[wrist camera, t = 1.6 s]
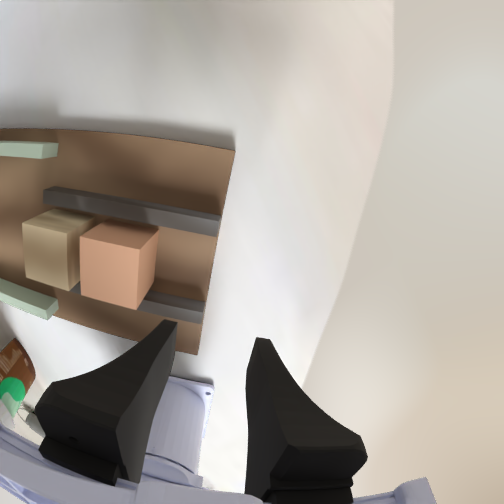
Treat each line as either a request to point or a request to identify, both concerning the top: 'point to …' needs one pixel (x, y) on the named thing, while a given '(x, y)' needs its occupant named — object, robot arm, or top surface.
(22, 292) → the tray
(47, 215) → the birch block
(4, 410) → the food container
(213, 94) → the top surface
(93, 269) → the terracotta block
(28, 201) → the groove board
